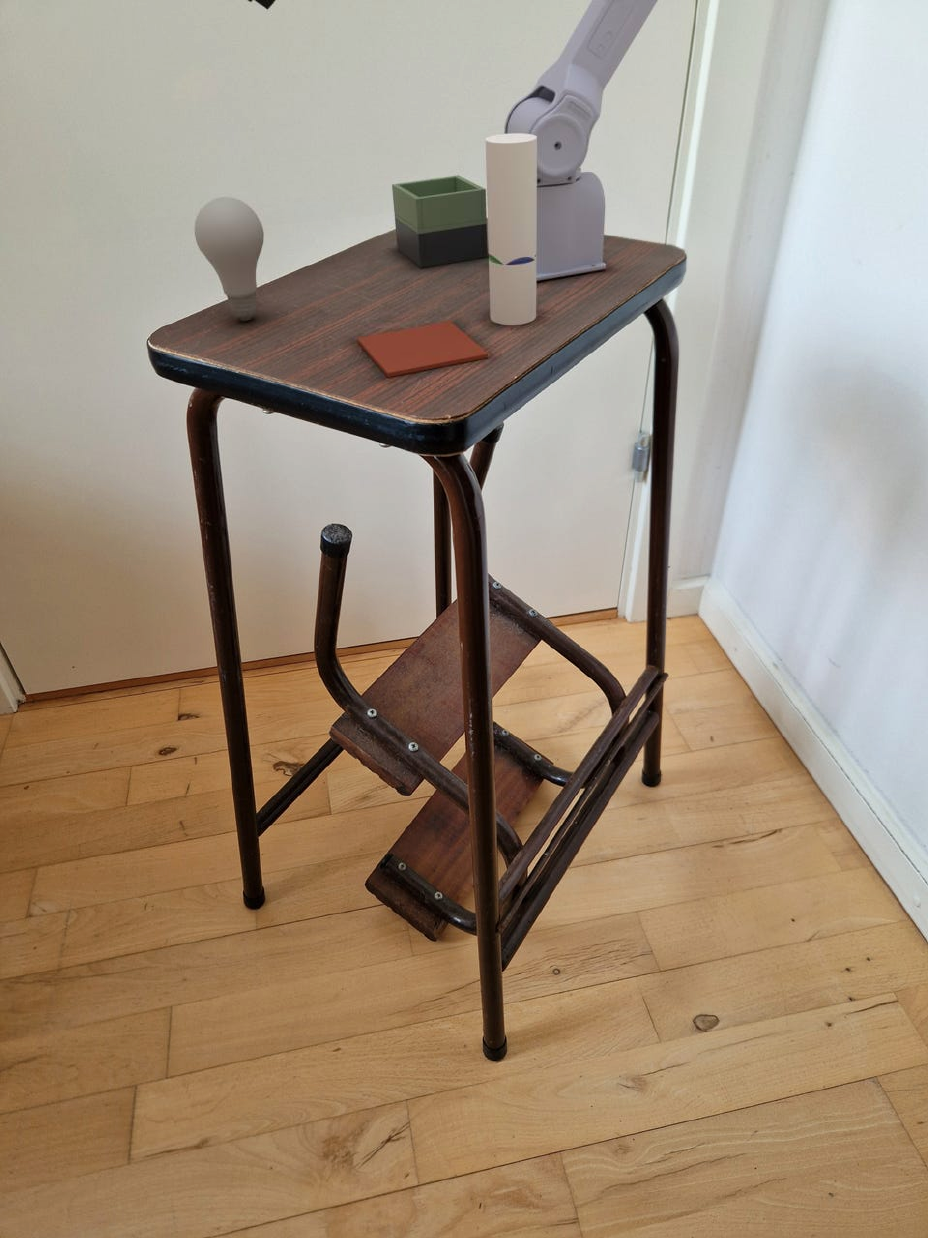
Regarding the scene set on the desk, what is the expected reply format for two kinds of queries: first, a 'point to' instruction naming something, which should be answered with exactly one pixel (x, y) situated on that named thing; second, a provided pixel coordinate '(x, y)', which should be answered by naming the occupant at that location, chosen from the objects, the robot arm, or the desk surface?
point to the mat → (421, 348)
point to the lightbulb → (232, 250)
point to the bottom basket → (442, 244)
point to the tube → (512, 226)
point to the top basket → (439, 204)
